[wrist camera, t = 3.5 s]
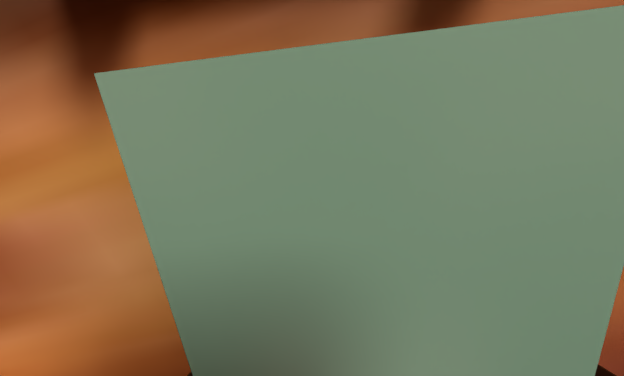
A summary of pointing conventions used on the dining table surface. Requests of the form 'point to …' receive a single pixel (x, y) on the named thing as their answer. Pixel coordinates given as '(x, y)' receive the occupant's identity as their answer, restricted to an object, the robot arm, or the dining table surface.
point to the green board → (387, 199)
